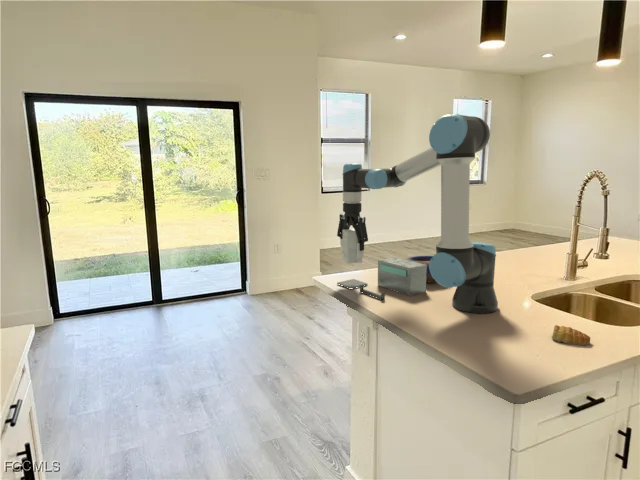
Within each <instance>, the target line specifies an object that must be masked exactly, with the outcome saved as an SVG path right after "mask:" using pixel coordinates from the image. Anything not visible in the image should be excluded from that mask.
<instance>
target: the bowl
mask: <svg viewBox="0 0 640 480" xmlns="http://www.w3.org/2000/svg"><path fill="white" fill-rule="evenodd" d="M433 256H434V255H416V256H410V257H408V258H406V259H405V260H409V261H413V262H417V263H421V264H426V265H427V273H426V283H434V282H436V281H435V279H433V277H432V275H431V273H430V270H429V263H430V260H431V258H432V257H433Z"/></svg>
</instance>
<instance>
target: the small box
mask: <svg viewBox="0 0 640 480" xmlns="http://www.w3.org/2000/svg"><path fill="white" fill-rule="evenodd" d="M357 242H359V241H358V238H357V235H356V232H355V229H354V228H349V229H345V230H344V229H343V242H342V254H341V255H342V258H341V259H342V260H343V261H344V262H345V263H347V264H360V263H362V262H363V258H361V259H357Z"/></svg>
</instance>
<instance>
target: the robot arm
mask: <svg viewBox="0 0 640 480" xmlns="http://www.w3.org/2000/svg"><path fill="white" fill-rule="evenodd" d="M490 136H491V130H490V127H489V125H488V124H487V122H486V121H485V120H484V119H482V118H481V117H478V116H471V115H463V114H460V113H458V114H457V113H455V114H445V115H443V116H440V118H438V119H437V120H436V121H435V122H434V123H433V125H432V127H430V130H429V134H428V140H429V144H430V147H429V148H426V149H425V150H422V151H421V152H418V153H417V154H415V155H413V156H411V157H409V158H407V159H405V160H404V161H401V162H400V163H397V164H396V165H394V166H391V167H389V168H363V165H362V163H345V164H344V165H343V168H342V202H343V203H342V211H343V213H341V214H339V221H338V226H337V227H338V228H337V234H336V236H337V237H339V239H340V255H342V242H343V229H344V230H345V229H351V228H350V227H351V226H352V229H355V232H356V235H357V238H358V241H359V242H357V259H361V258H362V259H364V251H365V243H366V242H367V243H368V242H369V238H368V231H367V224H366V219H367V218H366V216H361V214H360V213H361V212H362V189H369V190H371V189H372V190H381V189H383V188H385V189H386V188H399V187H403V186H404V185H406V183H407V182H408V181H410V180H413V179H415V178H416V177H419V176H421V175H423V174H425V173H428V172H430V171H432V170H434V169H436V168H438V167H440V177H441V178H440V219H441V220H440V240H439V241H438V242H437V243H436V244H435V254H434V255H432V256H433V257H432V258H431V260H430V263H429V270H430V273H431V275H432V277H433V279H435V281H434V282H436V283H437V285H440V286H442V287H443V288H449V289H450V288H456V289H455V292H454V294H453V296H452V301H451V302H452V303H451V306H452V307H454V308H455V309H456V310H459V311H463V312H466V313H470V314H471V313H473V314H491V313H494V312H497V311H498V309H499V308H498V307H499V301H498V298H497V294H496V291H495V287H494V283H495V268H496V267H495V266H496V257H497V254H496V249H497V248H496V245H494V244H492V243H487V242H480V241H473V240H470V231H469V230H470V170H471V169H470V166H471V163H472V162H473V161H474V160H475V159H476V153H479V152H480V151H482V150H483V149H484V148H485V147H486V146H487V145H488V143H489V140H490V138H491V137H490Z"/></svg>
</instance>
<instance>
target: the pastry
mask: <svg viewBox="0 0 640 480" xmlns="http://www.w3.org/2000/svg"><path fill="white" fill-rule="evenodd" d="M551 338H552V340H554V341H556V342H559V343H561V342H562V343H564V344H568V345H575V346H588V345H590V343H591V337H590V336H589V335H587V334H586V333H584V332H582V331H580V330H578V329H575V328H573V327H571V326H564V325H560V326H559V325H558V324H555V325H554V326H553V332H552V335H551Z"/></svg>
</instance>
